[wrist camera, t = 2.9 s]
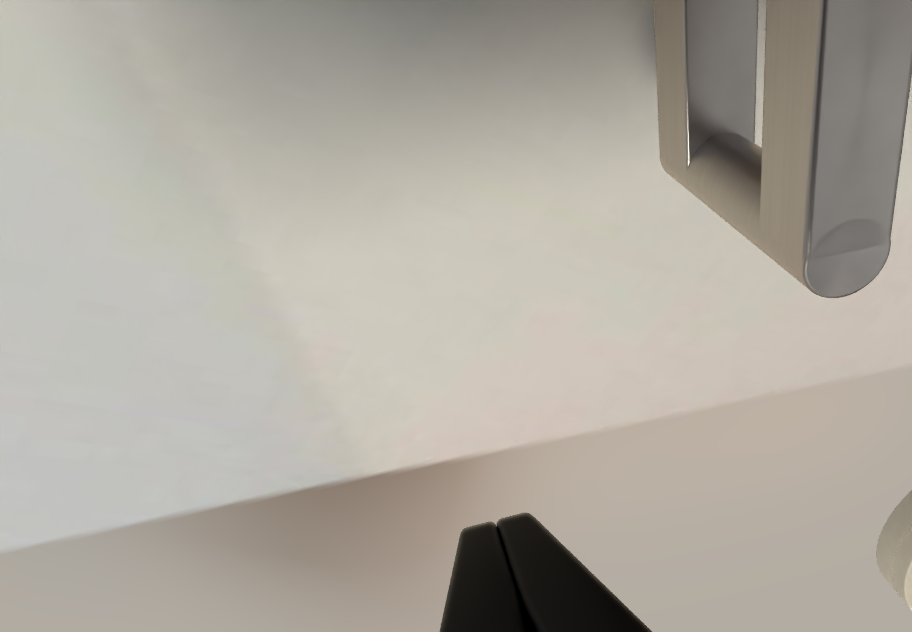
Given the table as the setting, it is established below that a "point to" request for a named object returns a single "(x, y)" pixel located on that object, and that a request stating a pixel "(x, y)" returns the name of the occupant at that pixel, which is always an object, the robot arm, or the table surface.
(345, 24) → the table surface
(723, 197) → the wooden cabinet door
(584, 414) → the table surface
